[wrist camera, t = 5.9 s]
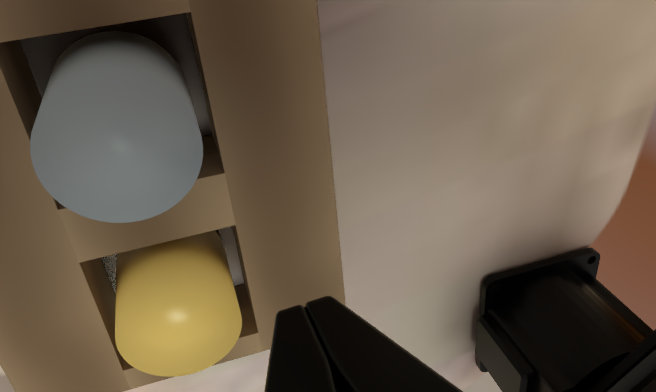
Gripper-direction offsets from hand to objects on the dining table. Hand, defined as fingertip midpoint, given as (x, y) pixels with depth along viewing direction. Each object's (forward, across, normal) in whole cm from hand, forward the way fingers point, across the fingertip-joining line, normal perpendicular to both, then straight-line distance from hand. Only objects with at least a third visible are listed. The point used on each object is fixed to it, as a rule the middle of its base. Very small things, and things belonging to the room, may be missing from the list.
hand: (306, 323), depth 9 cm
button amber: (+12, +3, +7) cm, 15 cm away
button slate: (+11, +3, 0) cm, 12 cm away
